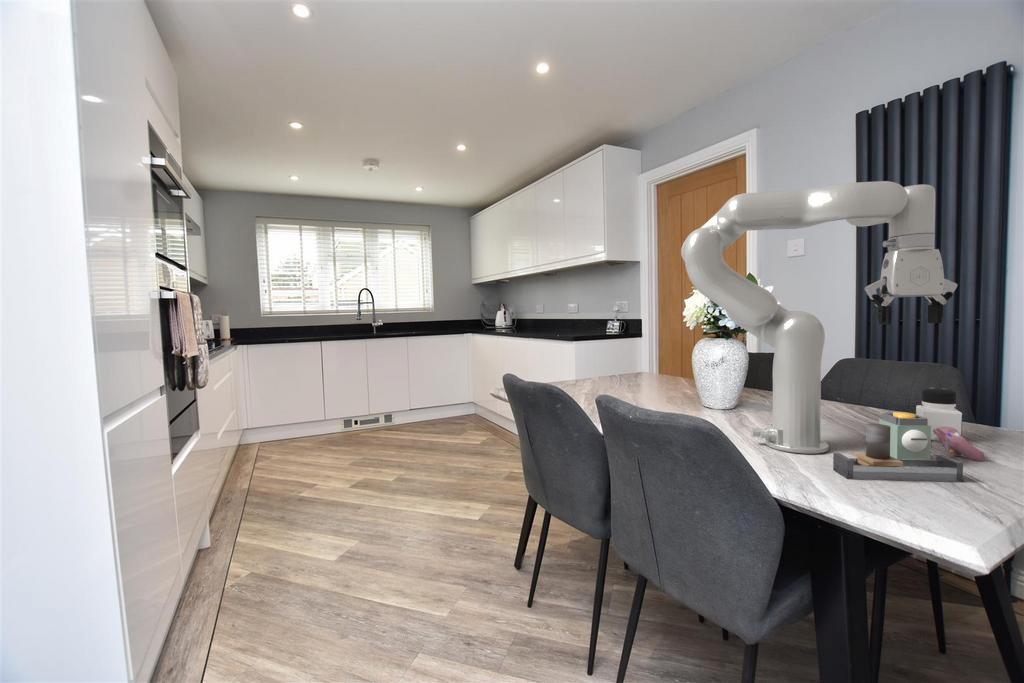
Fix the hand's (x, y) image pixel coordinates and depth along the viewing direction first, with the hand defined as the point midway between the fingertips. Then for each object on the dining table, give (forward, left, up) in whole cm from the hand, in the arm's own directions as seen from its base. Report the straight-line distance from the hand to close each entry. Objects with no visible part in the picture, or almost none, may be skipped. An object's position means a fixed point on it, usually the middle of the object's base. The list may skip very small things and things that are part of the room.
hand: (909, 323), depth 101 cm
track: (-13, -17, -28) cm, 35 cm away
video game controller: (+8, -2, -29) cm, 30 cm away
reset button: (-5, -7, -20) cm, 22 cm away
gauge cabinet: (-5, -7, -28) cm, 30 cm away
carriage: (-15, -17, -27) cm, 35 cm away
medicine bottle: (+14, +12, -28) cm, 34 cm away
